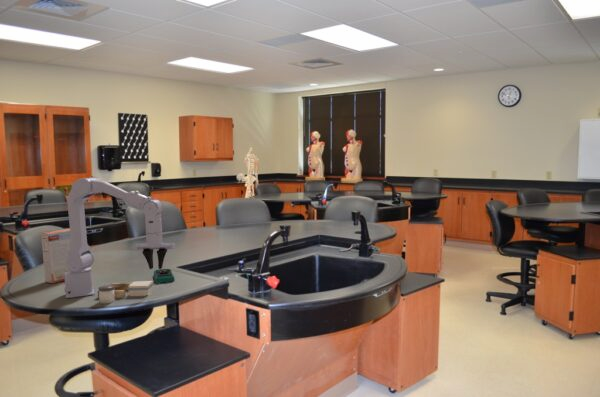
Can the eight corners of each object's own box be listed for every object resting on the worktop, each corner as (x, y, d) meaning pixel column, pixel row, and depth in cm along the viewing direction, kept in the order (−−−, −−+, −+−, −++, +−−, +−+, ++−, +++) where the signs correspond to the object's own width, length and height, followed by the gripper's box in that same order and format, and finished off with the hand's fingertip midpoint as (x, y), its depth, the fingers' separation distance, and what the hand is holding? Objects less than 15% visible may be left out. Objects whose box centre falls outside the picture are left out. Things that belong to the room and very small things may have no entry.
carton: (129, 296, 171) (128, 286, 171) (134, 291, 178) (134, 281, 177) (148, 296, 171) (147, 285, 171) (153, 291, 178) (152, 280, 178)
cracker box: (75, 274, 205) (72, 227, 203) (83, 276, 202) (80, 228, 200) (44, 282, 194) (40, 232, 192) (52, 284, 190) (48, 233, 188)
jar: (99, 304, 162) (98, 289, 162) (99, 300, 167) (98, 286, 166) (115, 302, 164) (114, 287, 164) (114, 298, 169) (113, 284, 169)
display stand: (98, 298, 170) (97, 291, 169) (111, 289, 181) (110, 283, 180) (124, 297, 169) (123, 291, 169) (135, 289, 180) (135, 282, 180)
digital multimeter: (171, 274, 204) (171, 267, 204) (174, 282, 190) (174, 275, 190) (153, 276, 201) (153, 269, 201) (155, 284, 188) (155, 277, 187)
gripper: (176, 230, 176) (178, 265, 177) (138, 230, 176) (140, 266, 178) (170, 233, 169) (172, 270, 170) (131, 234, 169) (133, 270, 171)
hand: (155, 268), depth 173 cm, fingers open, 3 cm apart
